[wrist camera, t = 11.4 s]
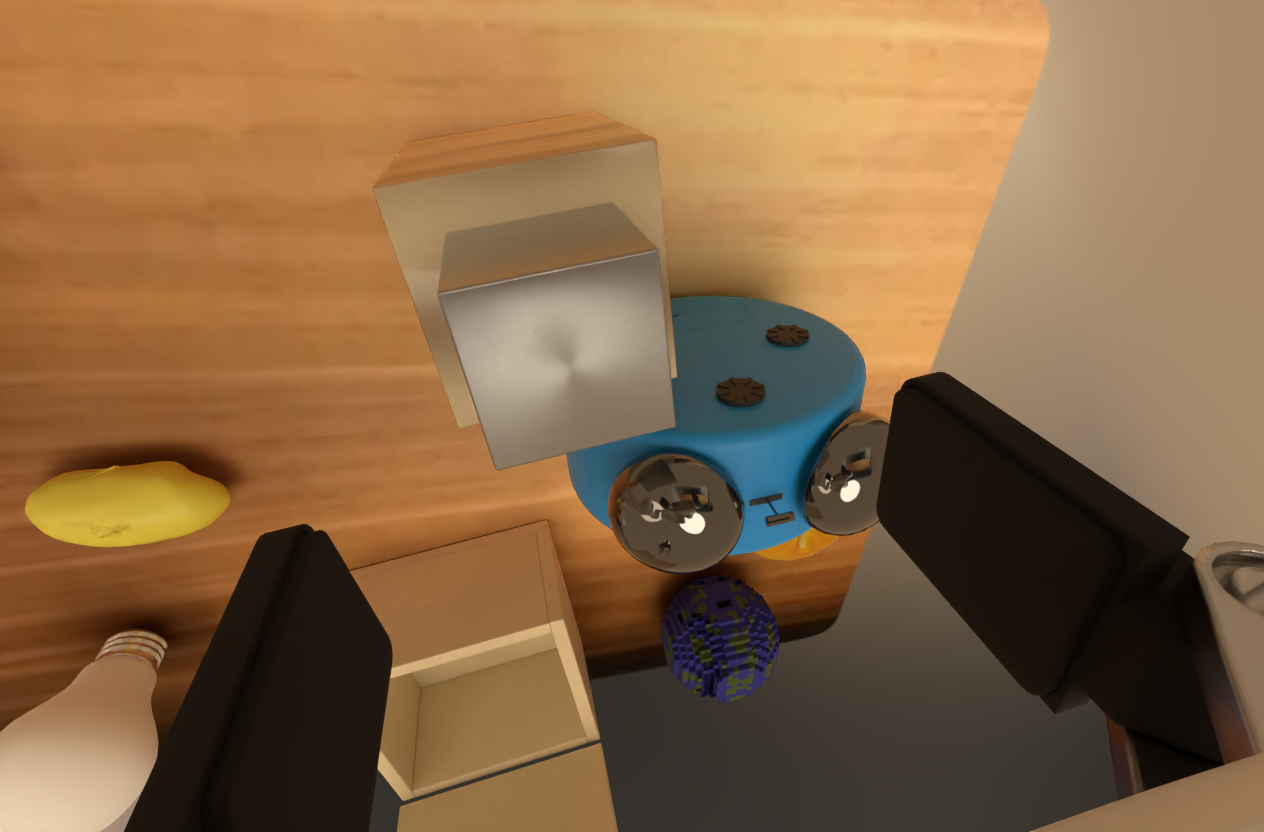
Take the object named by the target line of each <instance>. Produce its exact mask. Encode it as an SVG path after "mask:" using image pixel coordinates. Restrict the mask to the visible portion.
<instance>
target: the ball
mask: <svg viewBox="0 0 1264 832" xmlns="http://www.w3.org/2000/svg"><path fill="white" fill-rule="evenodd" d="M777 631H778V628H777V626H776V620H775V618H774V616H773V614H772V612H771V610H770V609H769V607H768V605H767V603H766V601H765V600H764V598H763V596H762V595H759V594H758V592H757V593H755V591H754V589H753V588H750V587H749V586H746V584H745V582H741V580H740V579H733V580H732V578H729V577H722V576H718V575H717V576H716V575H713V576H708V577H703V578H699V579H694V580H693V582H691V583H690V584H688V585H685V588H683V589H681V590H680V591H677V594H675V596H674V597H673V599H672V601H670V604H669V606H667V611H664V618H663V620H662V628H661V637H662V640H663V646H664V653H665V656H666V659H667V662H668V665H669V667H670V671H671V673H672V674H674V676H675V677H676V678H677V679H679V681H680V682H681V683H683V685H684V686H685V687H686V688H687V689H690V690H691V693H692V691H694V693H698V694H699V695H700V696H701V697H703V696H705V697H706V696H709V695H710V697H714V696H715V697H716V698H717V699H718V701H722V703H724V702H728V701H732V700H736V699H740V698H743V697H747V696H750V693H752V692H755V691H756V689H757V688H759V687H761V684H763V682H764V681H765V680H768V679H769V675H770V674H771V671H772V668H774V664H775V662H776V660H777V656H778V651H779V644H778V641H779V637H780V636H779V634H778V632H777Z"/></svg>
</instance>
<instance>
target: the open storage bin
mask: <svg viewBox="0 0 1264 832" xmlns="http://www.w3.org/2000/svg"><path fill="white" fill-rule="evenodd" d="M350 573H351V574H352V576H353V577H354V579H355V581H356V582H357V584H358V586H359V587H360V589H361V591H362V592H363V594H364V596H365V597H366V599H367V601H368V602H369V604H370V606H371V607H372V609H373V611H374V612H375V614H376V616H377V617H378V619H379V621H380V622H381V624H382V626H383V627H384V629H385V631H386V632H387V634H388V636H389V638H390V641H391V644H392V650H393V662H392V669H391V676H390V683H389V690H388V697H387V704H386V711H385V718H384V726H383V733H382V740H381V747H380V754H379V761H378V768H377V769H378V770H379V771H380V772H381V774H382V775H383V776H384V777H385V779H386V780H387V781H388V782H389V784H390V785H391V786H392V787H393V789H394V790H395V791H396V792H397V794H398V795H399V796H400V797H401V799H402V800H403V801H405V800H408V799H411V798H414V797H418V796H421V795H424V794H427V793H430V792H434V791H437V790H440V789H443V788H446V787H449V786H453V785H456V784H459V783H462V782H465V781H468V780H471V779H475V778H477V777H481V776H484V775H487V774H491V773H494V772H497V771H500V770H503V769H506V768H510V767H512V766H516V765H519V764H522V763H525V762H529V761H532V760H535V759H538V758H541V757H544V756H548V755H551V754H554V753H557V752H560V751H563V750H566V749H570V748H573V747H576V746H579V745H582V744H585V743H588V742H592V741H595V740H598V739H600V735H599V730H598V724H597V720H596V714H595V709H594V703H593V698H592V693H591V688H590V683H589V677H588V672H587V667H586V662H585V657H584V651H583V646H582V641H581V637H580V633H579V630H578V626H577V623H576V619H575V616H574V612H573V609H572V605H571V602H570V598H569V595H568V591H567V588H566V584H565V581H564V577H563V574H562V570H561V567H560V563H559V560H558V556H557V553H556V549H555V546H554V542H553V539H552V535H551V532H550V528H549V525H548V521H547V520H544V521H540V522H536V523H533V524H529V525H525V526H521V527H517V528H513V529H509V530H506V531H502V532H498V533H494V534H490V535H486V536H483V537H479V538H475V539H471V540H467V541H463V542H459V543H456V544H452V545H448V546H444V547H440V548H436V549H433V550H429V551H425V552H421V553H417V554H413V555H410V556H406V557H402V558H398V559H394V560H390V561H386V562H383V563H379V564H375V565H371V566H367V567H363V568H360V569H356V570H352V571H350Z"/></svg>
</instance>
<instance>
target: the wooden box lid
mask: <svg viewBox="0 0 1264 832" xmlns="http://www.w3.org/2000/svg"><path fill="white" fill-rule="evenodd" d="M397 832H618V830H617V824H616V819H615V813H614V809H613V803H612V797H611V792H610V787H609V781H608V776H607V771H606V765H605V759H604V754H603V749H602V746H601V744H600V743H599V744H596V745H593V746H590V747H587V748H584V749H580V750H577V751H574V752H571V753H568V754H565V755H562V756H558V757H555V758H552V759H549V760H546V761H543V762H539V763H536V764H533V765H530V766H527V767H524V768H520V769H517V770H514V771H511V772H508V773H505V774H502V775H499V776H495V777H492V778H489V779H486V780H483V781H479V782H476V783H473V784H470V785H467V786H464V787H460V788H458V789H454V790H451V791H448V792H445V793H442V794H438V795H435V796H432V797H429V798H426V799H423V800H419V801H416V802H413V803H410V804H407V805H404V806H401V807H400V814H399V821H398V828H397Z"/></svg>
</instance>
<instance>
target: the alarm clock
mask: <svg viewBox="0 0 1264 832" xmlns="http://www.w3.org/2000/svg"><path fill="white" fill-rule="evenodd" d="M670 300H671V312H672V323H673V334H674V345H675V357H676V368H677V377H675V378H672V388H673V399H674V409H675V420H676V426H675V427H673V428H669V429H665V430H661V431H657V432H653V433H648V434H644V435H640V436H636V437H632V438H628V439H624V440H620V441H616V442H612V443H608V444H604V445H600V446H596V447H591V448H587V449H583V450H579V451H575V452H571V453H567V454H566V455H567V461H568V467H569V473H570V478H571V481H572V484H573V487H574V489H575V491H576V493H577V495H578V497H579V499H580V500H581V502H582V503H583V505H584V506H585V507H586V508H587V509H588V510H589V512H590V513H591V514H592V515H593V516H595V517H596V518H597V519H598V520H599V521H600V522H602V523H603V524H604V525H606V526H607V527H609V528H610V529H612V530H613V532H614V534H615V536H616V538H617V540H618V542H619V543H620V544H621V546H622V547H623V548H624V549H625V550H626V551H627V552H628V553H629V554H630V555H631V556H632V557H634V558H635V559H636V560H638V561H639V562H641V563H642V564H644V565H646V566H648V567H650V568H652V569H655V570H658V571H661V572H666V573H672V574H688V573H696V572H701V571H704V570H706V569H709V568H711V567H713V566H715V565H716V564H718V563H719V562H721V561H722V560H724V559H725V558H726V557H727V556H729V555H737V554H745V553H750V552H755V551H760V550H764V549H767V548H771V547H774V546H777V545H779V544H782V543H785V542H787V541H789V540H791V539H793V538H795V537H797V536H799V535H801V534H803V533H805V532H806V531H808V530H810V529H811V528H813V529H815V530H817V531H819V532H822V533H824V534H829V535H836V536H846V535H852V534H856V533H859V532H862V531H865V530H866V529H868V528H870V527H871V526H873V525H875V524H876V523H878V522H879V519H878V516H877V511H876V503H877V497H878V491H879V485H880V479H881V473H882V467H883V461H884V455H885V449H886V443H887V437H888V431H889V425H890V422H889V421H888V420H886V419H885V418H883V417H882V416H880V415H878V414H876V413H874V412H871V411H869V410H860V408H861V403H862V397H863V392H864V387H865V380H866V369H865V363H864V359H863V357H862V355H861V353H860V351H859V349H858V347H857V346H856V345H855V343H854V342H853V341H852V340H851V339H850V338H849V337H848V336H847V335H846V334H845V333H844V332H843V331H842V330H840V329H839V328H837V327H836V326H834V325H833V324H831V323H829V322H828V321H826V320H824V319H822V318H820V317H818V316H816V315H814V314H812V313H809V312H806V311H804V310H801V309H798V308H795V307H792V306H788V305H784V304H780V303H776V302H771V301H766V300H760V299H753V298H745V297H733V296H693V297H680V298H672V299H670Z"/></svg>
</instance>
